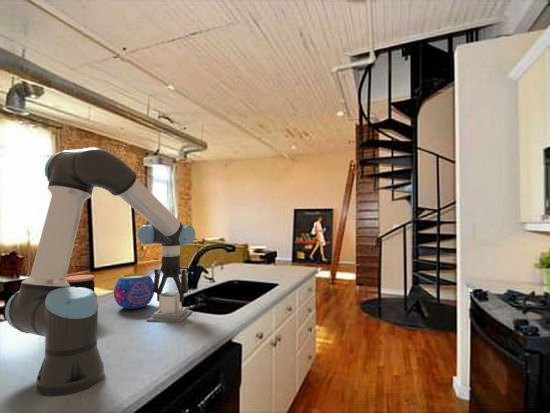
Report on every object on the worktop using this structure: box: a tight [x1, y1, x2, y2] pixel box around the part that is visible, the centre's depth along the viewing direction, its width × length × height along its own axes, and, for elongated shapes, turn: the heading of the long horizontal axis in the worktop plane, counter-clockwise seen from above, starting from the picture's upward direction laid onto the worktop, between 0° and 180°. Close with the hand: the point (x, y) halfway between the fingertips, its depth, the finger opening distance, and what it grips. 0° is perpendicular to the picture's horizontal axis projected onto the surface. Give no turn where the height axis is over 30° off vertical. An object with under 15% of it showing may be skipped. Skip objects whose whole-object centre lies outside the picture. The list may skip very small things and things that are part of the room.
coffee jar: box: [66, 274, 95, 292], centre depth 133 cm, size 11×11×18 cm
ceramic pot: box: [113, 272, 155, 310], centre depth 153 cm, size 18×18×15 cm
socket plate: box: [146, 306, 193, 324], centre depth 140 cm, size 14×14×3 cm
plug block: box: [161, 291, 179, 314], centre depth 140 cm, size 6×6×9 cm
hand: (170, 309), depth 140 cm, fingers open, 7 cm apart
